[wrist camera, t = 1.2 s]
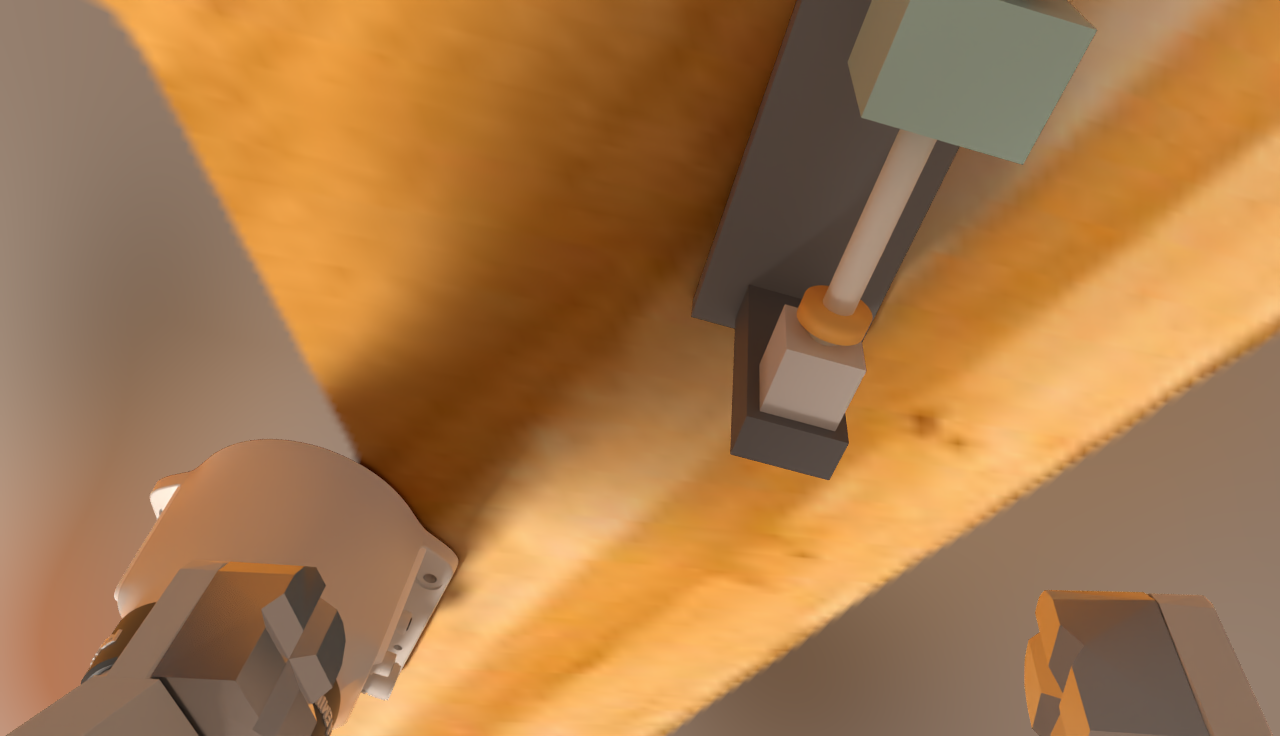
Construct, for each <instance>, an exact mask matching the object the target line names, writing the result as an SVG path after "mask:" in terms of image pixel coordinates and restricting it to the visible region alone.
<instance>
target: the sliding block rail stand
mask: <svg viewBox="0 0 1280 736" xmlns="http://www.w3.org/2000/svg"><path fill="white" fill-rule="evenodd" d="M871 1H872V0H797V2H796V4H795V7H794V10H793V13H792V16H791V19H790V22H789V25H788V28H787V30H786V33H785V36H784V39H783V42H782V45H781V48H780V51H779V54H778V56H777V59H776V62H775V65H774V68H773V71H772V74H771V77H770V79H769V82H768V85H767V88H766V91H765V94H764V97H763V100H762V103H761V105H760V108H759V111H758V114H757V117H756V120H755V123H754V126H753V129H752V131H751V134H750V137H749V140H748V143H747V146H746V149H745V152H744V155H743V157H742V160H741V163H740V166H739V169H738V172H737V175H736V178H735V180H734V183H733V186H732V189H731V192H730V195H729V198H728V201H727V204H726V206H725V209H724V212H723V215H722V218H721V221H720V224H719V227H718V230H717V232H716V235H715V238H714V241H713V244H712V247H711V250H710V253H709V255H708V258H707V261H706V264H705V267H704V270H703V273H702V276H701V279H700V281H699V284H698V287H697V290H696V293H695V296H694V299H693V306H692V315H691V317H694V318H698V319H701V320H705V321H708V322H712V323H716V324H719V325H723V326H727V327H730V328H734V329H735V341H734V368H733V395H732V422H731V450H730V454H731V455H735V456H739V457H743V458H747V459H750V460H754V461H758V462H762V463H765V464H769V465H773V466H777V467H781V468H784V469H788V470H792V471H796V472H799V473H803V474H807V475H811V476H815V477H818V478H822V479H826V480H830V478H831V476H832V474H833V472H834V470H835V468H836V466H837V465H838V463H839V461H840V459H841V457H842V455H843V453H844V451H845V450H846V448H847V446H848V444H849V441H848V433H847V424H846V416H845V411H846V409H847V407H848V406H849V404H850V402H851V400H852V398H853V396H854V394H855V392H856V390H857V388H858V386H859V384H860V382H861V380H862V378H863V376H864V374H865V373H866V365H865V359H864V353H863V347H862V341H863V339H864V337H865V335H866V333H867V331H868V329H869V327H870V325H871V323H872V321H873V319H874V317H875V315H876V313H877V311H878V309H879V307H880V305H881V303H882V301H883V299H884V297H885V295H886V293H887V291H888V289H889V287H890V285H891V283H892V281H893V279H894V277H895V275H896V273H897V271H898V269H899V267H900V265H901V263H902V261H903V259H904V257H905V255H906V253H907V251H908V249H909V247H910V245H911V243H912V241H913V239H914V237H915V235H916V233H917V231H918V229H919V227H920V225H921V223H922V221H923V219H924V217H925V215H926V213H927V211H928V209H929V207H930V205H931V203H932V201H933V199H934V197H935V195H936V193H937V191H938V189H939V187H940V185H941V183H942V181H943V179H944V177H945V175H946V173H947V171H948V169H949V167H950V165H951V163H952V161H953V159H954V157H955V155H956V153H957V151H958V149H959V147H960V146H957V145H953V144H950V143H947V142H943V141H940V140H936V139H933V138H929V137H926V136H923V135H919V134H916V133H912V132H909V131H905V130H902V129H899V128H895V127H892V126H888V125H885V124H882V123H878V122H875V121H871V120H868V119H864V118H861V115H860V111H859V107H858V103H857V99H856V95H855V91H854V87H853V83H852V79H851V74H850V70H849V66H848V60H849V57H850V55H851V52H852V49H853V47H854V44H855V42H856V39H857V37H858V34H859V32H860V29H861V27H862V24H863V22H864V19H865V17H866V14H867V12H868V9H869V6H870V4H871Z"/></svg>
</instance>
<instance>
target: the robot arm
mask: <svg viewBox="0 0 1280 736" xmlns="http://www.w3.org/2000/svg"><path fill="white" fill-rule="evenodd" d="M150 501H151V504H152V507H153V510H154V512H155V515H156V518H157V521H156V523H155V524H154V526H153V528H152V529H151V531H150V533H149V534H148V536H147V537H146V539H145V540H144V542H143V544H142V545H141V547H140V549H139V550H138V552H137V554H136V555H135V557H134V559H133V560H132V562H131V563H130V565H129V567H128V568H127V570H126V572H125V573H124V575H123V577H122V578H121V580H120V582H119V583H118V585H117V587H116V590H115V594H114V598H115V600H116V601H117V602H118V609H119V613H120V615H121V617H122V618H123V619H122V620H121V621H120V622H119V624H118V625H117V627H116V628H115V630H114V631H113V633H112V634H111V635H110V636H109V638H107V639H106V640H105V641H104V642H103V644H102V645H101V646H100V648H99V650H98V651H97V653H96V654H95V656H94V658H93V661H92V662H91V665H90V668H89V670H88V671H87V673H86V675H85V676H84V678H83V679H82V681H81V685H80V686H78V687H77V688H75V689H74V690H72V691H71V692H69V693H68V694H66V695H65V696H63V697H62V698H60V699H59V700H57V701H56V702H55V703H53V704H52V705H50V706H49V707H47V708H46V709H44V710H43V711H41V712H40V713H38V714H37V715H35V716H34V717H32V718H31V719H29V720H28V721H27V722H25V723H24V724H22V725H21V726H19V727H18V728H16V729H15V730H13V731H12V732H10V733H9V734H7V735H6V736H330V735H331V732H332V730H334V729H336V728H339V727H341V726H343V725H344V724H346V722H347V721H348V719H349V717H350V714H351V712H352V710H353V708H354V706H355V704H356V702H357V699H358V697H359V695H360V693H363V694H365V693H368V694H367V695H369V696H370V695H372V697H375V698H378V699H381V700H384V701H385V700H388V699H389V697H390V694H391V692H392V690H393V687H394V685H395V682H396V680H397V678H398V676H399V674H400V672H401V670H402V668H403V667H404V665H405V663H406V661H407V659H408V657H409V656H410V654H411V652H412V650H413V648H414V646H415V645H416V643H417V641H418V639H419V637H420V635H421V633H422V632H423V630H424V628H425V626H426V624H427V622H428V621H429V619H430V617H431V615H432V613H433V611H434V610H435V608H436V606H437V604H438V602H439V600H440V598H441V597H442V595H443V593H444V591H445V589H446V587H447V586H448V584H449V582H450V580H451V578H452V576H453V574H454V572H455V570H456V568H457V566H458V558H457V556H456V554H455V553H454V552H453V551H452V550H451V549H450V548H449V547H447V546H446V545H445V544H444V543H442V542H441V541H440V540H438V539H437V538H436V537H434V536H433V535H432V534H430V533H429V532H427V531H426V530H425V529H424V528H423V526H422V525H421V524H420V523H419V521H418V520H417V518H416V517H415V515H414V514H413V512H412V511H411V509H410V508H409V506H408V505H407V504H406V502H405V501H404V500H403V499H402V498H401V496H400V495H399V494H398V493H397V492H396V491H395V490H394V489H393V488H392V487H391V486H390V485H388V484H387V483H386V482H385V481H384V480H382V479H381V478H380V477H379V476H377V475H376V474H374V473H373V472H372V471H370V470H369V469H367V468H365V467H364V466H362V465H360V464H359V463H357V462H355V461H353V460H351V459H349V458H347V457H345V456H342V455H340V454H338V453H335V452H333V451H330V450H327V449H324V448H321V447H318V446H314V445H310V444H306V443H302V442H296V441H289V440H278V439H262V440H261V439H260V440H250V441H245V442H240V443H237V444H233V445H231V446H228V447H226V448H224V449H221V450H220V451H218V452H216V453H215V454H213V455H212V456H211V457H210V458H208V459H207V460H206V461H205V462H204V463H202V464H201V465H200V466H199V467H197V468H196V469H194V470H192V471H190V472H185V473H180V474H175V475H171V476H167V477H164V478H162V479H160V480H159V481H158V482H157V483H156V485H155V487H154V489H153V490H152V492H151V494H150ZM1035 614H1036V618H1037V622H1038V626H1039V630H1040V632H1039V633H1038V634H1036V635H1035V636H1034V637H1032V638H1030V639H1029V641H1028V646H1027V651H1026V656H1025V684H1024V685H1025V693H1026V700H1027V707H1028V712H1029V716H1030V721H1031V726H1032V729H1033V730H1034V731H1035V732H1036V733H1037V734H1038V735H1039V736H1273V734H1272V732H1271V730H1270V727H1269V725H1268V723H1267V721H1266V719H1265V717H1264V714H1263V712H1262V710H1261V708H1260V706H1259V704H1258V702H1257V699H1256V697H1255V695H1254V693H1253V691H1252V688H1251V686H1250V684H1249V682H1248V680H1247V677H1246V676H1245V673H1244V671H1243V669H1242V667H1241V664H1240V662H1239V660H1238V658H1237V656H1236V654H1235V652H1234V649H1233V647H1232V645H1231V643H1230V641H1229V638H1228V636H1227V634H1226V632H1225V630H1224V628H1223V625H1222V623H1221V621H1220V619H1219V617H1218V615H1217V612H1216V610H1215V608H1214V606H1213V604H1212V603H1211V602H1210V601H1209V600H1208V599H1207V598H1206V597H1205V596H1203V595H1179V594H1178V595H1177V594H1145V593H1144V592H1108V591H1106V592H1105V591H1104V592H1103V591H1062V590H1059V591H1058V590H1045V591H1044V592H1043V593H1042V594H1041V596H1040V597H1039V600H1038V604H1037V608H1036V611H1035Z"/></svg>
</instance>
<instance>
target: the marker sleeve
mask: <svg viewBox="0 0 1280 736" xmlns="http://www.w3.org/2000/svg"><path fill="white" fill-rule="evenodd" d="M1096 31H1097V29H1096V28H1095V27H1093V26H1092V25H1091V24H1090V23H1089V22H1088V21H1087V20H1086V19H1085V18H1084V17H1083V16H1082V15H1081V14H1080V13H1079V12H1078V11H1077V10H1076V9H1075V8H1074V7H1073V6H1072V5H1071V4H1070V3H1069V2H1068V1H1067V0H872V1H871V4H870V6H869V9H868V12H867V14H866V17H865V19H864V22H863V24H862V27H861V29H860V32H859V34H858V37H857V39H856V42H855V44H854V47H853V49H852V52H851V55H850V57H849V60H848V66H849V70H850V74H851V79H852V83H853V87H854V91H855V95H856V99H857V103H858V107H859V111H860V115H861V118H864V119H868V120H871V121H875V122H878V123H882V124H885V125H888V126H892V127H895V128H899V129H902V130H905V131H909V132H912V133H916V134H919V135H923V136H926V137H929V138H933V139H936V140H940V141H943V142H947V143H950V144H953V145H957V146H960V147H964V148H967V149H970V150H974V151H977V152H981V153H984V154H988V155H991V156H994V157H998V158H1001V159H1005V160H1008V161H1012V162H1015V163H1018V164H1022V165H1023V164H1024V162H1025V160H1026V158H1027V157H1028V155H1029V153H1030V151H1031V149H1032V148H1033V146H1034V144H1035V142H1036V140H1037V138H1038V137H1039V135H1040V133H1041V131H1042V129H1043V128H1044V126H1045V124H1046V122H1047V120H1048V119H1049V117H1050V115H1051V113H1052V111H1053V109H1054V108H1055V106H1056V104H1057V102H1058V100H1059V99H1060V97H1061V95H1062V93H1063V91H1064V90H1065V88H1066V86H1067V84H1068V82H1069V80H1070V79H1071V77H1072V75H1073V73H1074V71H1075V70H1076V68H1077V66H1078V64H1079V62H1080V60H1081V59H1082V57H1083V55H1084V53H1085V51H1086V50H1087V48H1088V46H1089V44H1090V42H1091V41H1092V39H1093V37H1094V35H1095V33H1096Z"/></svg>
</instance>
